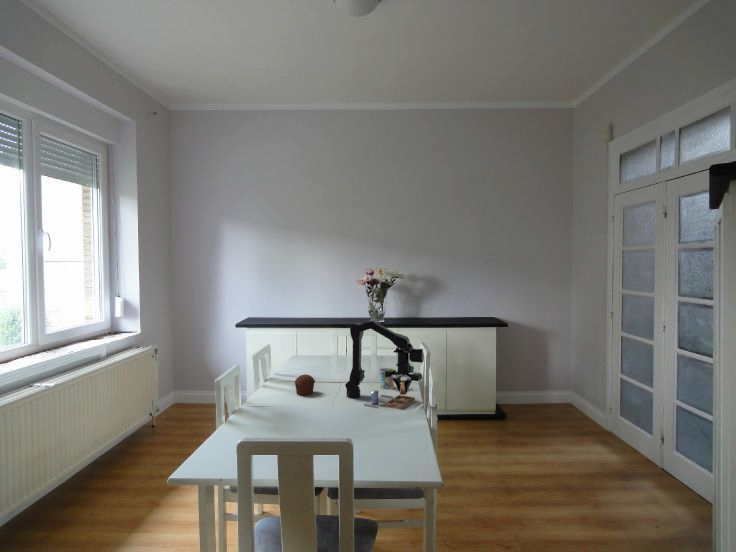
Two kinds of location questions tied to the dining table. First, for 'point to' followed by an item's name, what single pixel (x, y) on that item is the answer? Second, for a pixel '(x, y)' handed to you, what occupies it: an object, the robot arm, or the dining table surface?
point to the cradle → (380, 401)
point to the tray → (400, 402)
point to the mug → (386, 379)
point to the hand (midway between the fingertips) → (403, 391)
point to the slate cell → (374, 397)
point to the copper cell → (402, 387)
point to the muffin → (304, 385)
